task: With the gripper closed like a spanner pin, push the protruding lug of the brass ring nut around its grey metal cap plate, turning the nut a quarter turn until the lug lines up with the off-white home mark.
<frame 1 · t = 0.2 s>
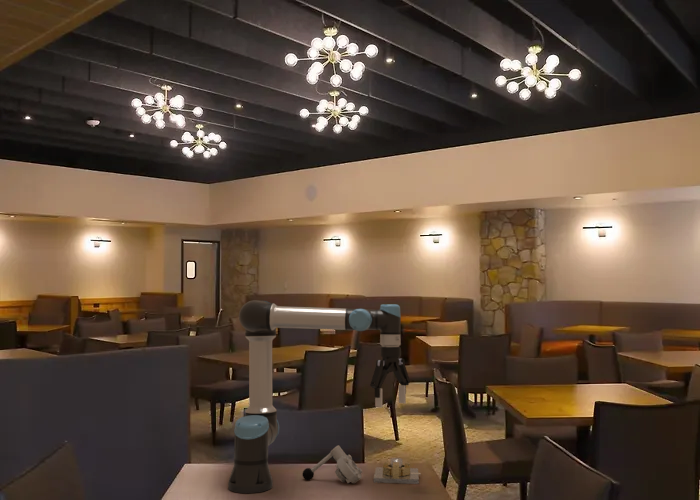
hand: (390, 405, 221), 27 cm above the table, fingers open, 13 cm apart
ring nut: (396, 467, 222), point 4 cm above the table, hinge at -90.0°
mechanical valve: (331, 482, 218), on the table
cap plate: (396, 477, 224), on the table
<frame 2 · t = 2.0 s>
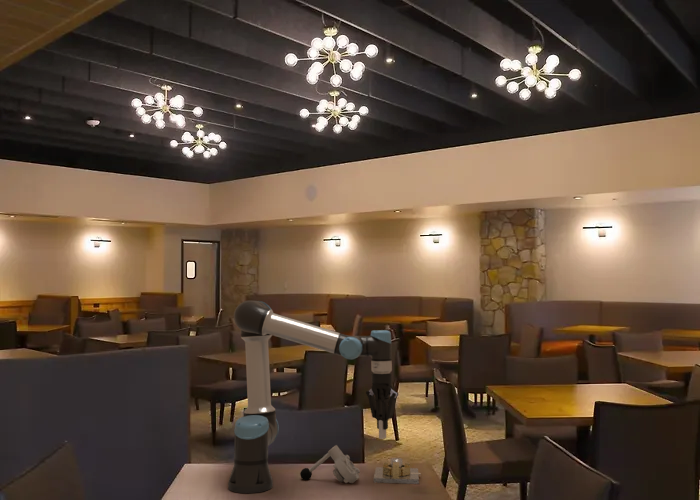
hand: (382, 438, 221), 15 cm above the table, fingers closed
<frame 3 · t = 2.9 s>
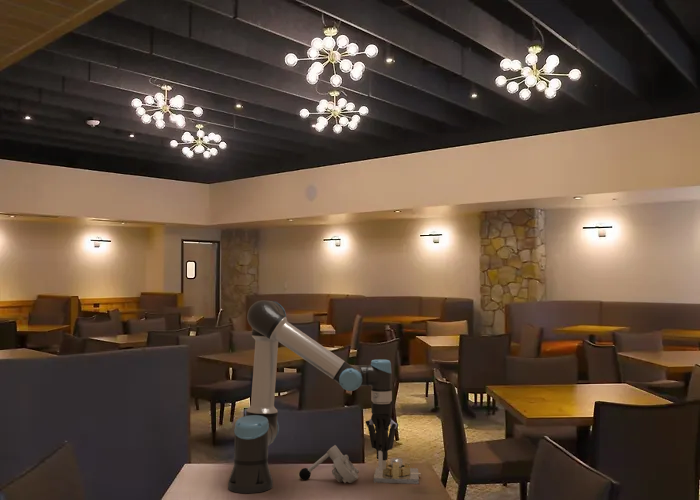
hand: (382, 469, 219), 4 cm above the table, fingers closed
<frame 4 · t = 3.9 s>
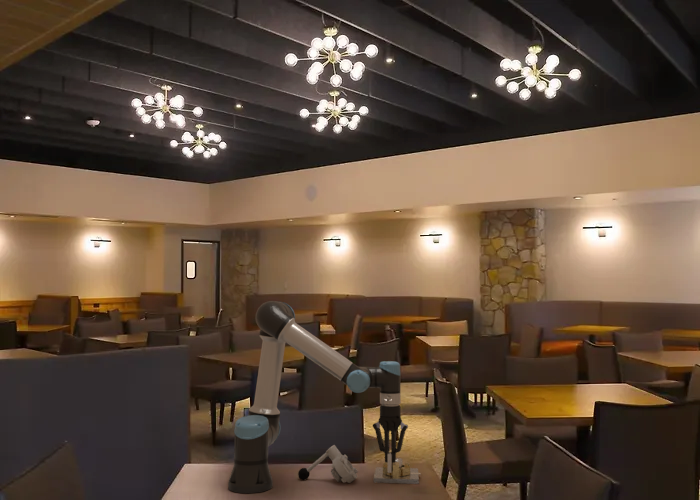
hand: (390, 471, 218), 4 cm above the table, fingers closed
ring nut: (396, 467, 222), point 4 cm above the table, hinge at -90.0°, touching gripper
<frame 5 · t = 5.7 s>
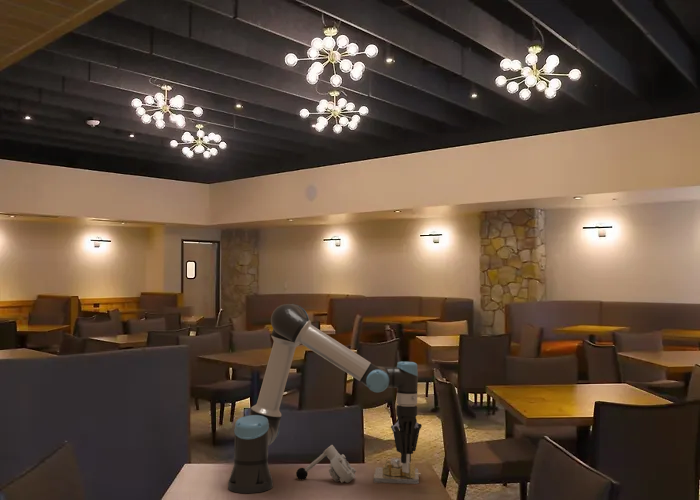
hand: (405, 472, 218), 3 cm above the table, fingers closed
ring nut: (399, 466, 223), point 4 cm above the table, hinge at -47.3°, touching gripper
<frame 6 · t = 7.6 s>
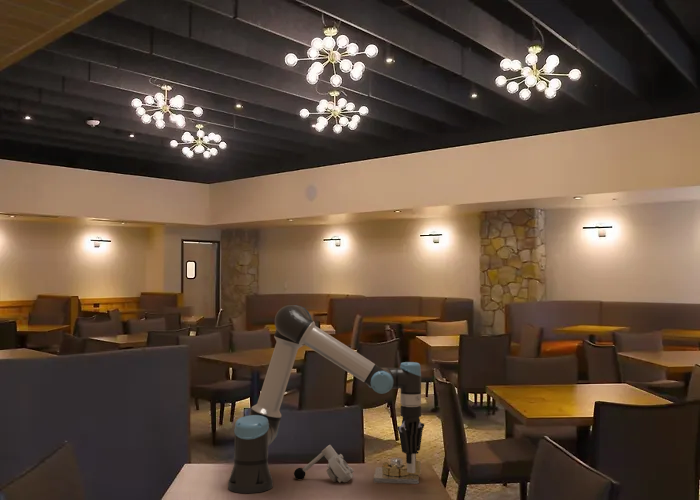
hand: (411, 472, 219), 3 cm above the table, fingers closed
ring nut: (401, 466, 224), point 4 cm above the table, hinge at -8.6°
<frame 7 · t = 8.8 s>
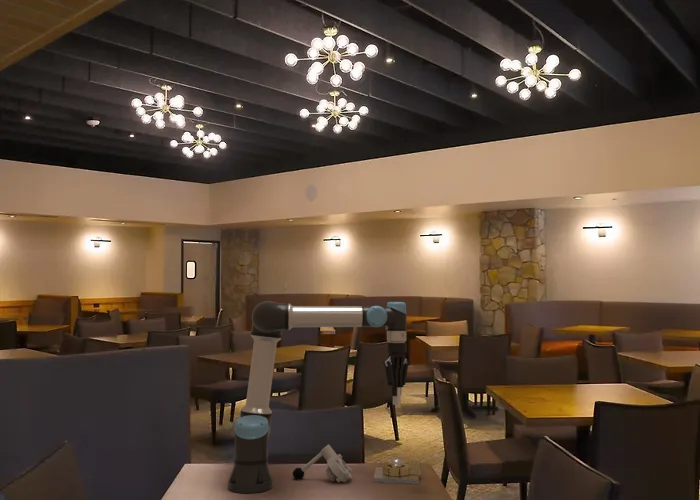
hand: (396, 404, 231), 26 cm above the table, fingers closed
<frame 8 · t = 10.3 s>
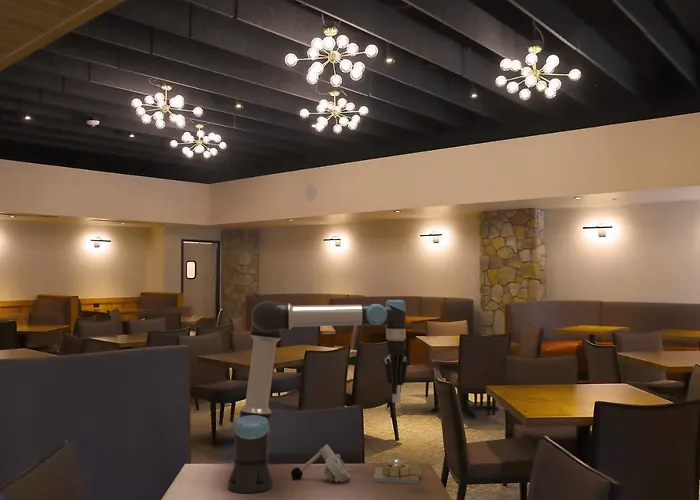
hand: (396, 402, 232), 26 cm above the table, fingers closed
at the end: ring nut at -9° (first picture: -90°) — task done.
